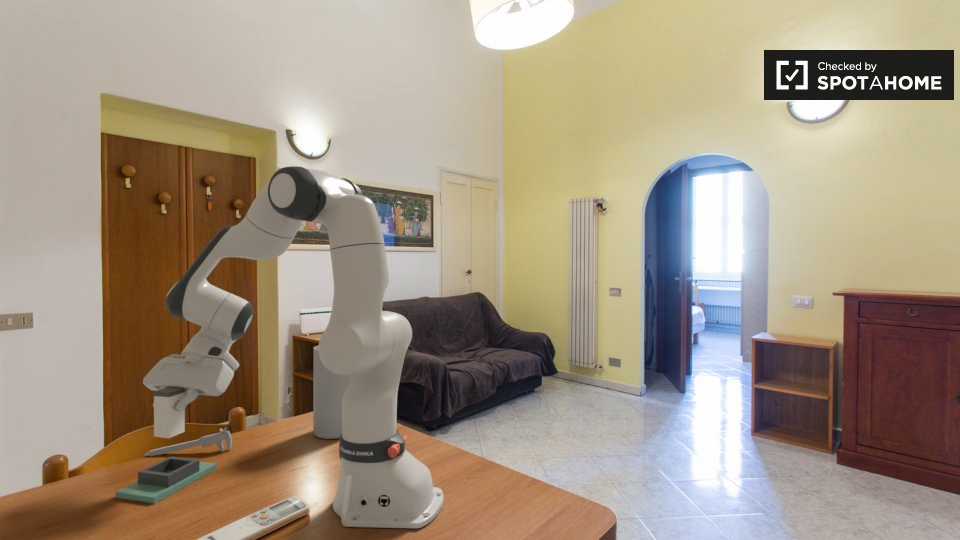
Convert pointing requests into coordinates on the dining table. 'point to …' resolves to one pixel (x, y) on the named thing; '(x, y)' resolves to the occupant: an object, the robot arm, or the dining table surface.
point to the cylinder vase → (327, 399)
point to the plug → (168, 412)
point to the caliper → (197, 443)
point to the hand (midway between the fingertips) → (166, 408)
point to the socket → (165, 479)
